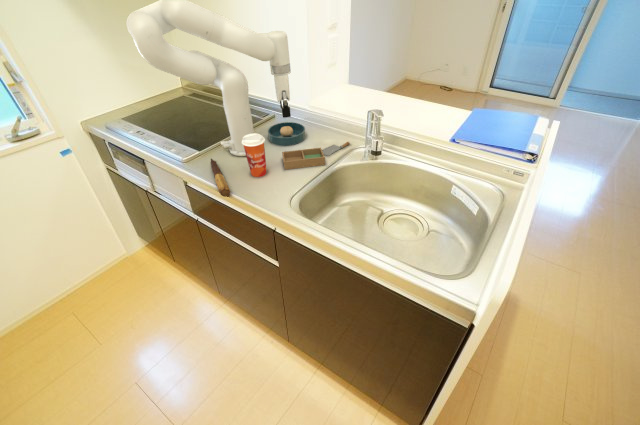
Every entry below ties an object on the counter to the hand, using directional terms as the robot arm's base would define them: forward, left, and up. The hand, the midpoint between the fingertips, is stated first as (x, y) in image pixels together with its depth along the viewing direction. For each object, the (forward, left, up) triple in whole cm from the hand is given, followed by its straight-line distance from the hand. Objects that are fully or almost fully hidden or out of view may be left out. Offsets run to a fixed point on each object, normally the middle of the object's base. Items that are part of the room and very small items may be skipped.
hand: (285, 112), depth 130 cm
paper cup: (-13, -27, -11) cm, 32 cm away
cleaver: (+18, -15, -11) cm, 26 cm away
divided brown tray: (+4, -23, -11) cm, 26 cm away
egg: (0, 0, -10) cm, 10 cm away
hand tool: (-22, -39, -6) cm, 45 cm away
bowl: (0, 0, -11) cm, 11 cm away
